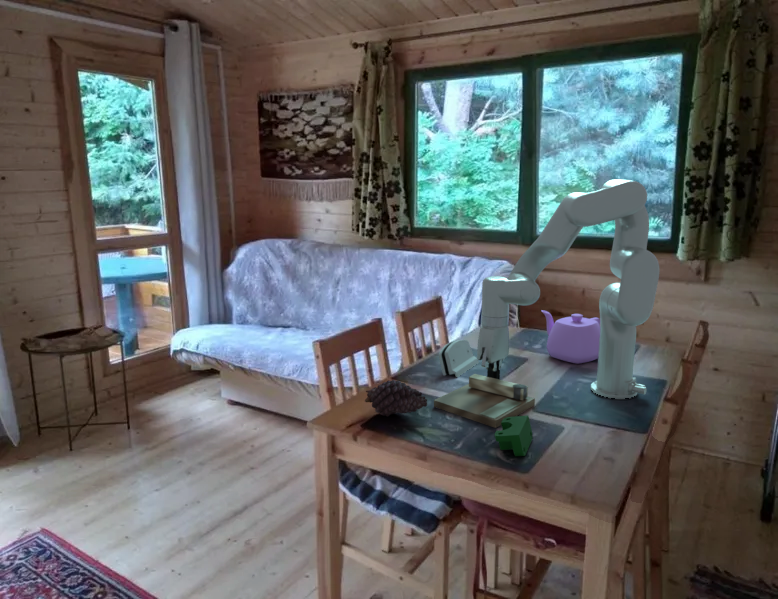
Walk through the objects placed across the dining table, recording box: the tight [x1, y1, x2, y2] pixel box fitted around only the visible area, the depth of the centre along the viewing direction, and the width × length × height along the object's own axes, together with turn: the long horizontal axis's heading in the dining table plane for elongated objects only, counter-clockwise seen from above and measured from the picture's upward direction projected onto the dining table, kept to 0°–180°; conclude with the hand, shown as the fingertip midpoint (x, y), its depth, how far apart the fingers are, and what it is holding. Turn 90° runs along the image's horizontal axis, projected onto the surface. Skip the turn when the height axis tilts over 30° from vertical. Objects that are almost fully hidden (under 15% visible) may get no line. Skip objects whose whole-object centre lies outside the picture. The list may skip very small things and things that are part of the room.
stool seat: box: [433, 383, 536, 429], centre depth 161 cm, size 20×19×2 cm
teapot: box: [541, 309, 600, 365], centre depth 201 cm, size 23×21×15 cm
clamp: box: [494, 414, 533, 457], centre depth 137 cm, size 12×6×9 cm, turn 151°
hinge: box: [438, 339, 480, 378], centre depth 190 cm, size 17×5×10 cm, turn 147°
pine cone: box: [364, 379, 428, 418], centre depth 154 cm, size 18×10×10 cm, turn 68°
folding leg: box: [468, 373, 529, 400], centre depth 164 cm, size 17×4×3 cm, turn 52°
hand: (493, 382), depth 169 cm, fingers closed
